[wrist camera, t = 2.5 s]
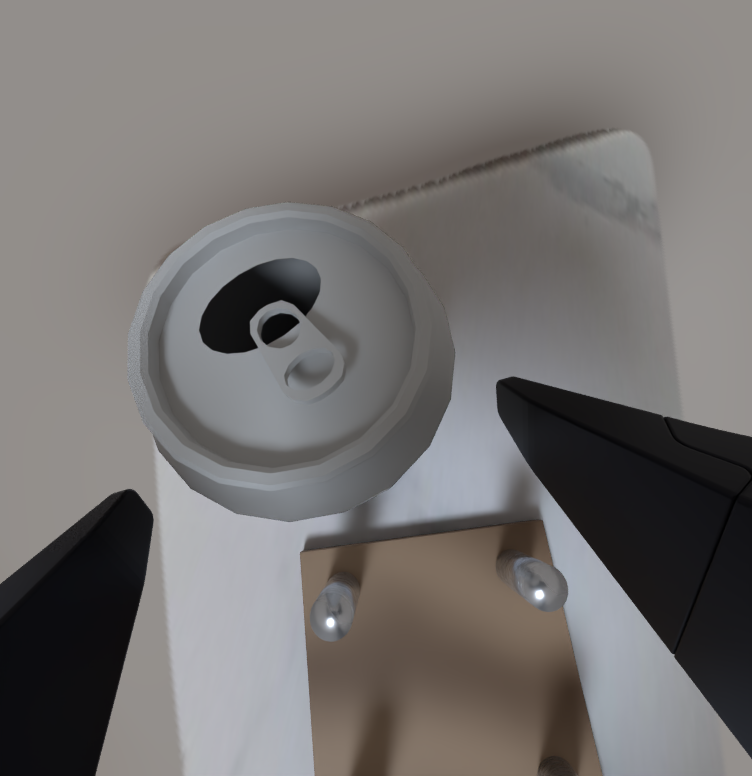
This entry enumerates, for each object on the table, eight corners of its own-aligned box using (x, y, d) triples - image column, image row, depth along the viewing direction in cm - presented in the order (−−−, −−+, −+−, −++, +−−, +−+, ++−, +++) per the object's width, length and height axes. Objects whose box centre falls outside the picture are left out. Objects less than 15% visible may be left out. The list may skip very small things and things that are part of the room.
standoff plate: (606, 818, 14) (689, 941, 10) (323, 857, 14) (300, 998, 10) (537, 519, 17) (581, 528, 13) (302, 550, 17) (278, 568, 13)
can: (360, 331, 20) (325, 115, 9) (449, 441, 18) (556, 358, 7) (242, 413, 19) (23, 292, 8) (325, 538, 17) (204, 631, 6)
